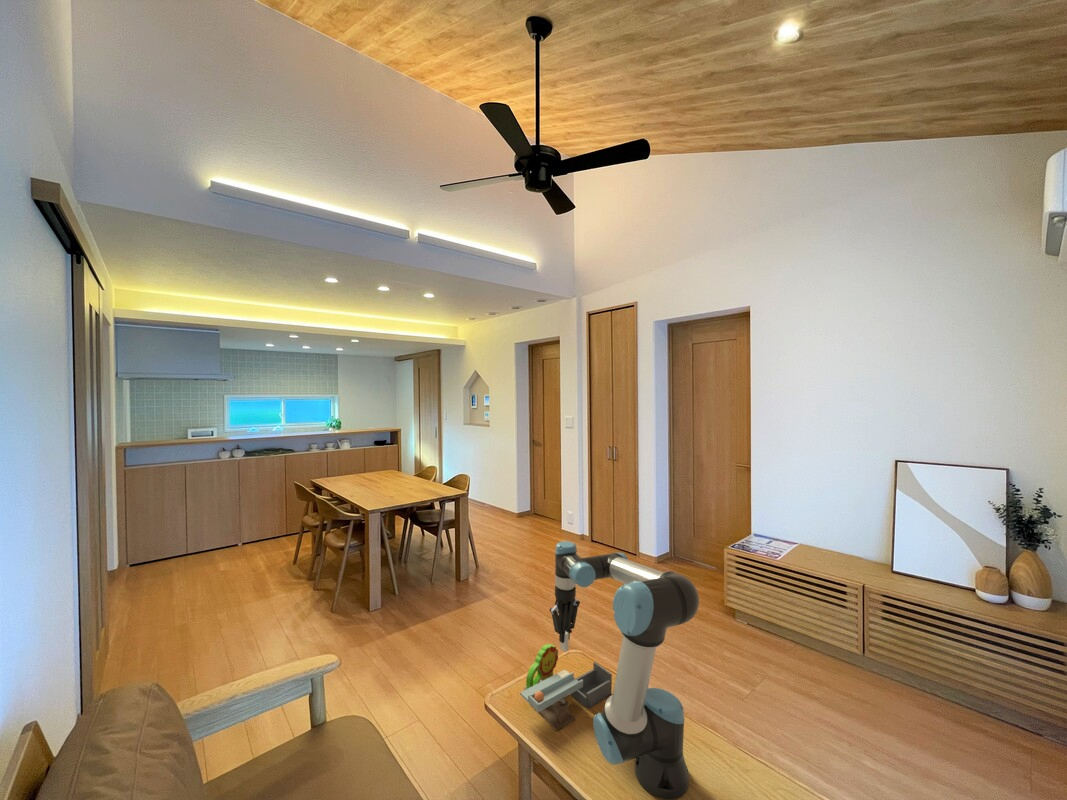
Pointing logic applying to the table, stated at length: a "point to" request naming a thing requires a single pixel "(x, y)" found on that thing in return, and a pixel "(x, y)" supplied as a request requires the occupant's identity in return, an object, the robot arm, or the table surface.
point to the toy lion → (542, 665)
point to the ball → (539, 696)
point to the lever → (552, 690)
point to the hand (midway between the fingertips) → (564, 649)
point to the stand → (557, 715)
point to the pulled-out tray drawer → (594, 686)
